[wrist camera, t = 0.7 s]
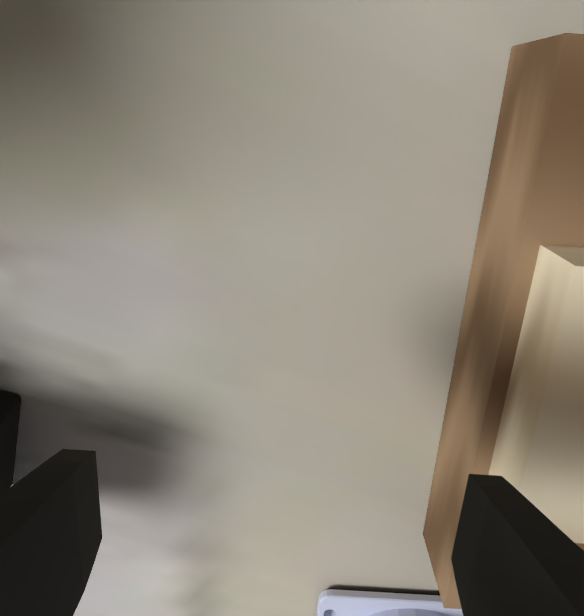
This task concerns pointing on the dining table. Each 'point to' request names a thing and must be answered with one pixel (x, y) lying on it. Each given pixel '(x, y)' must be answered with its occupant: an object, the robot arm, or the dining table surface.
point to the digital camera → (8, 436)
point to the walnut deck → (508, 267)
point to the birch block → (548, 395)
